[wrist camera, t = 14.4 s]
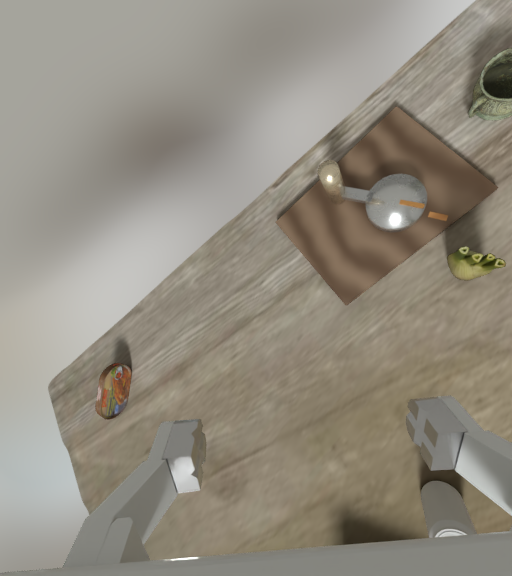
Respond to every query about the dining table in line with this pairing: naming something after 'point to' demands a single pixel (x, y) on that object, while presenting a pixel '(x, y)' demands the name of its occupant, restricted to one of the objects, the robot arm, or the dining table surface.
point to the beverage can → (445, 511)
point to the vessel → (494, 89)
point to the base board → (352, 215)
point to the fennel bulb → (472, 264)
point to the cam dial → (379, 197)
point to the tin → (113, 390)
